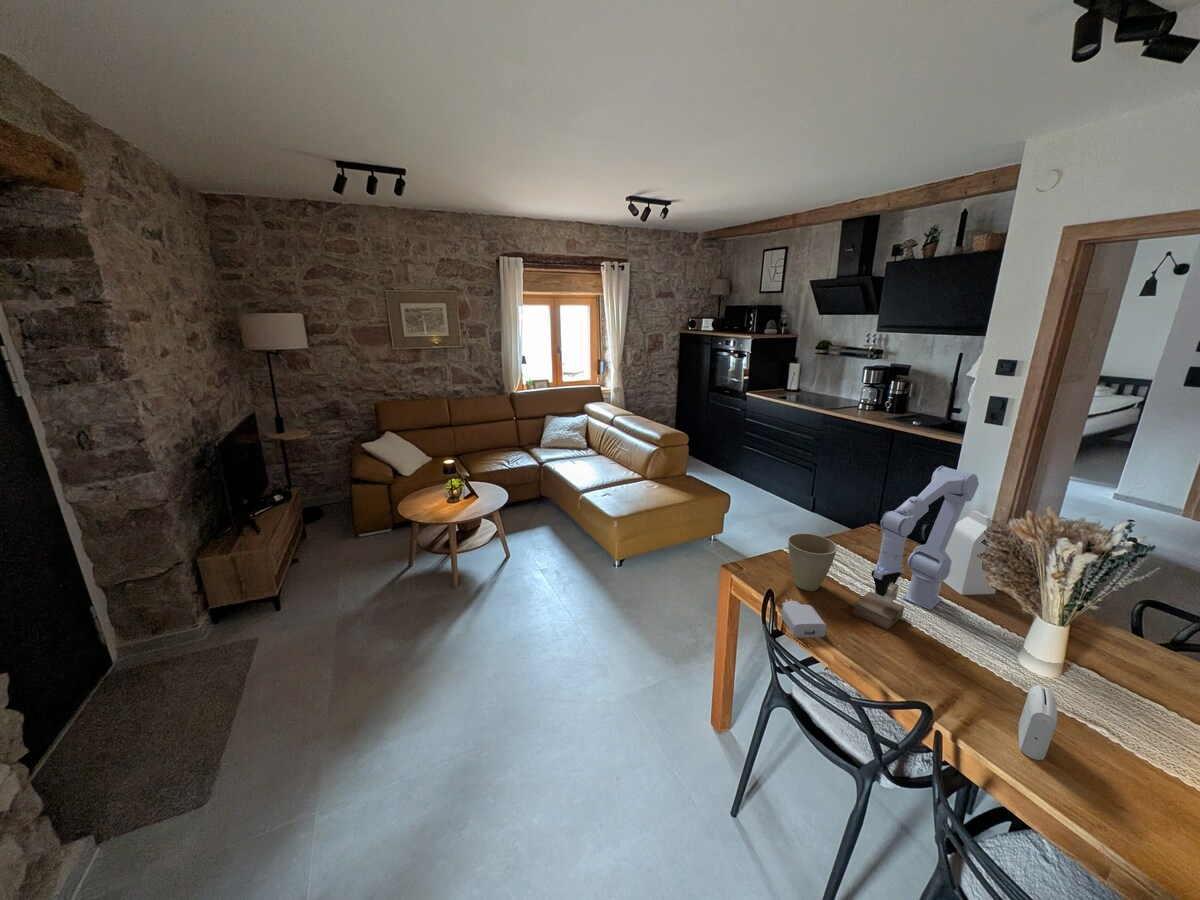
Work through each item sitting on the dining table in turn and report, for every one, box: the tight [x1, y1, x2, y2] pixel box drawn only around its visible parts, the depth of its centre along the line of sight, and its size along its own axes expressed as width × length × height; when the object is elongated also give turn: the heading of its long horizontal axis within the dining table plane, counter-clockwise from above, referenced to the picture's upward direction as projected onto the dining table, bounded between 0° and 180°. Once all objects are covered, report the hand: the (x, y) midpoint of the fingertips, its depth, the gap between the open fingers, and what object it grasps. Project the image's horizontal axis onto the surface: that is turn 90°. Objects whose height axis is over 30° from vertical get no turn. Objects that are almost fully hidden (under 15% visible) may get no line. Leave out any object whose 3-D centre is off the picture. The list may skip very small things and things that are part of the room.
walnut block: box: [852, 591, 905, 630], centre depth 141 cm, size 10×10×4 cm
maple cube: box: [873, 582, 900, 604], centre depth 139 cm, size 4×4×4 cm
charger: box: [780, 598, 827, 639], centre depth 139 cm, size 5×9×15 cm
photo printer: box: [1018, 684, 1058, 761], centre depth 98 cm, size 10×4×12 cm, turn 140°
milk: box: [942, 509, 997, 596], centre depth 154 cm, size 12×12×26 cm
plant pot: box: [787, 532, 838, 592], centre depth 155 cm, size 15×15×16 cm
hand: (884, 591), depth 139 cm, fingers closed on maple cube, 4 cm apart
